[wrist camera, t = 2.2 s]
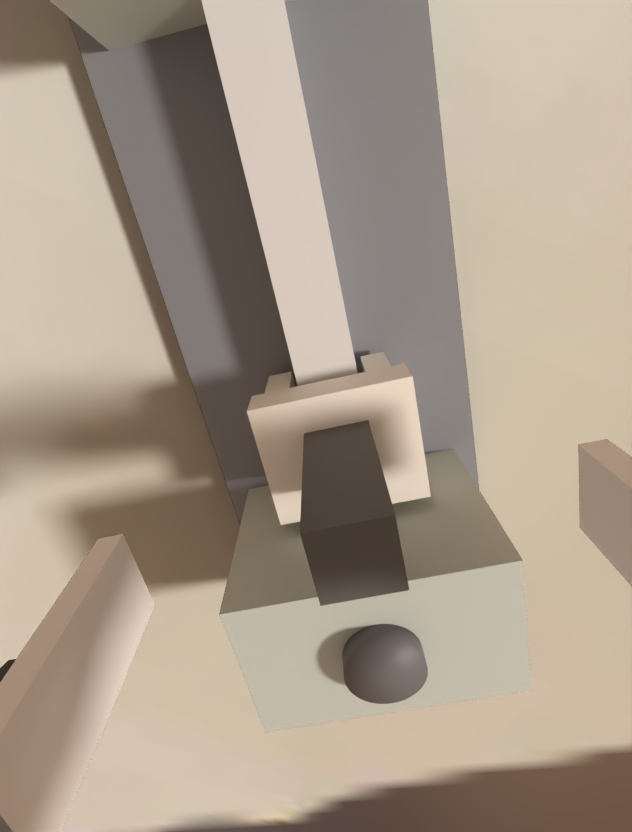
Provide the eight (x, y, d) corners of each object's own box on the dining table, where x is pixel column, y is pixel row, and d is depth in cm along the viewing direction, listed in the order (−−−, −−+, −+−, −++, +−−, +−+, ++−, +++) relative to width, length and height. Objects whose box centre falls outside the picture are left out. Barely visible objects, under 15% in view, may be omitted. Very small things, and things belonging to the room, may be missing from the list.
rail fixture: (3, -202, 15) (-468, -844, 6) (386, -326, 14) (520, -1316, 5) (267, 590, 27) (244, 775, 18) (481, 551, 26) (571, 726, 17)
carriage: (257, 378, 21) (214, 503, 11) (394, 348, 20) (463, 454, 11) (285, 477, 22) (267, 652, 13) (411, 452, 22) (481, 615, 13)
